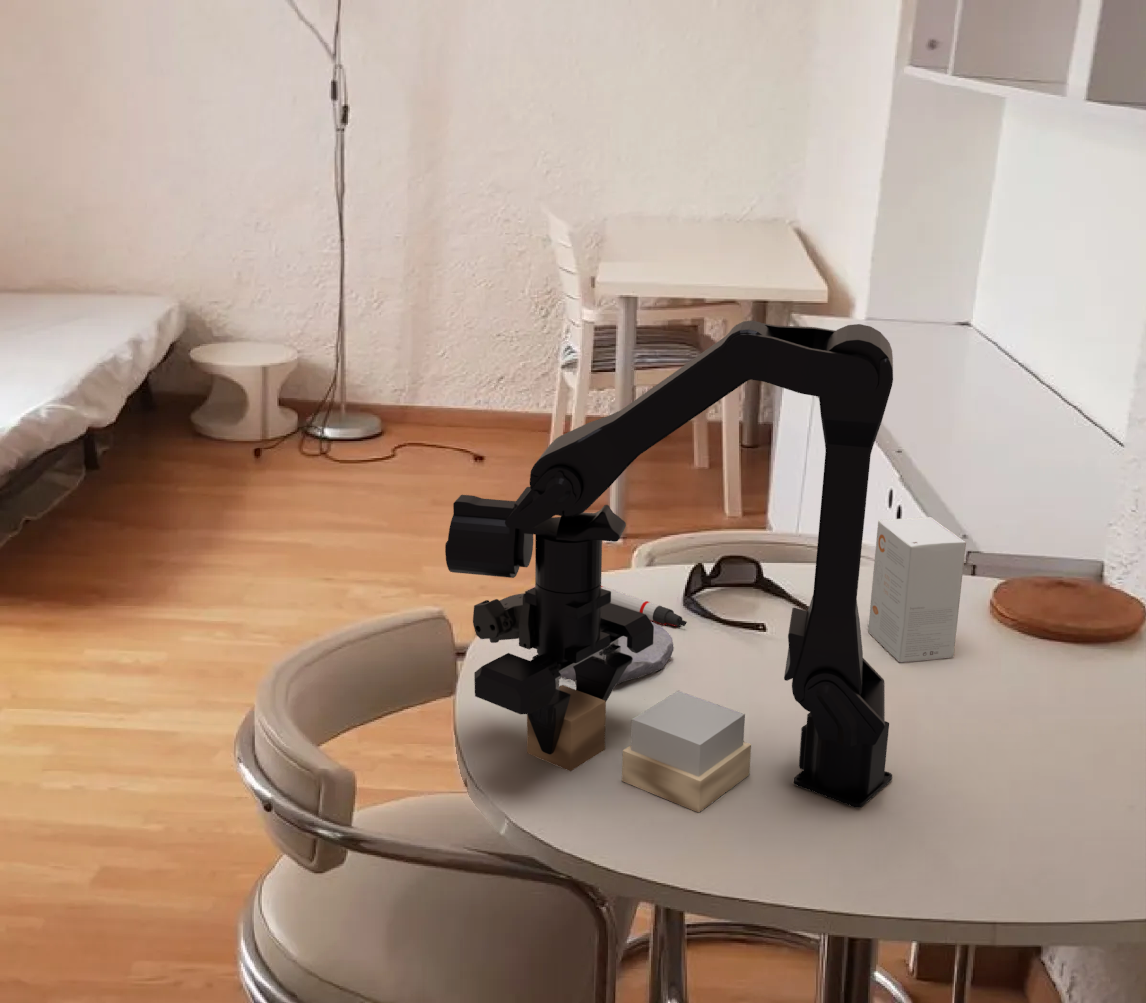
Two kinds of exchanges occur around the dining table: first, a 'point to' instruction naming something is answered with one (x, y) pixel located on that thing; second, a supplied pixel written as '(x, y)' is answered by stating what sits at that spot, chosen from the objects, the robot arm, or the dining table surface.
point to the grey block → (687, 732)
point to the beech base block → (686, 778)
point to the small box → (916, 588)
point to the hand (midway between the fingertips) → (566, 741)
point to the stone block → (641, 656)
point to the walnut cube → (575, 732)
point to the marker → (646, 608)
